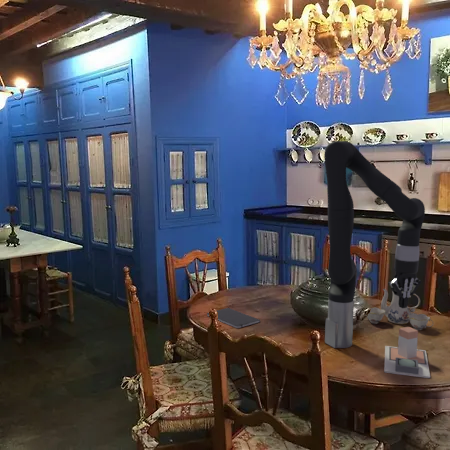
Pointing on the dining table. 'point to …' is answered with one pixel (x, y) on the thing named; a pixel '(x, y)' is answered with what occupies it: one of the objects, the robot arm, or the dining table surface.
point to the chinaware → (398, 313)
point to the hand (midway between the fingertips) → (402, 307)
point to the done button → (407, 362)
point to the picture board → (394, 367)
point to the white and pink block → (407, 342)
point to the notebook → (235, 318)
